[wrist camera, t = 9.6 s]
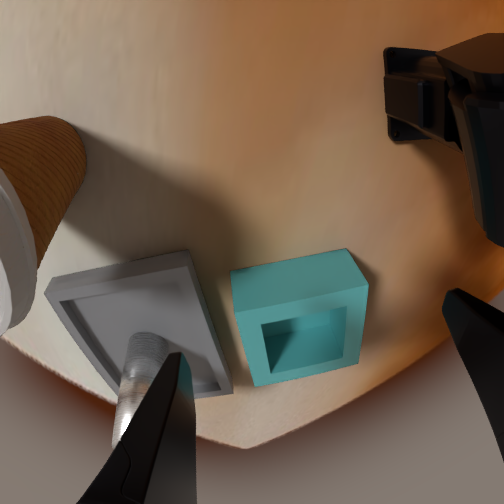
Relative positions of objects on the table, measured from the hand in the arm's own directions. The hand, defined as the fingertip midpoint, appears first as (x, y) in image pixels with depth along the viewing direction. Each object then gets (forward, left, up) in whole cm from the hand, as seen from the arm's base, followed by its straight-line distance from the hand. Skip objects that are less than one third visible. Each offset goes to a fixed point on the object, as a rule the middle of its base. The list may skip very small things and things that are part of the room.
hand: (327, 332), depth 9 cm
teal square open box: (-1, +11, -13) cm, 17 cm away
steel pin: (+12, +12, -12) cm, 21 cm away
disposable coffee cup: (+14, -5, -13) cm, 20 cm away
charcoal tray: (+12, +12, -13) cm, 21 cm away
